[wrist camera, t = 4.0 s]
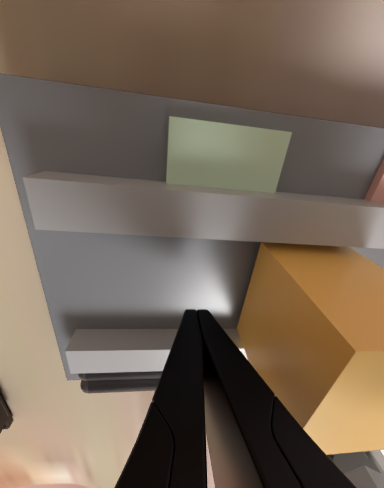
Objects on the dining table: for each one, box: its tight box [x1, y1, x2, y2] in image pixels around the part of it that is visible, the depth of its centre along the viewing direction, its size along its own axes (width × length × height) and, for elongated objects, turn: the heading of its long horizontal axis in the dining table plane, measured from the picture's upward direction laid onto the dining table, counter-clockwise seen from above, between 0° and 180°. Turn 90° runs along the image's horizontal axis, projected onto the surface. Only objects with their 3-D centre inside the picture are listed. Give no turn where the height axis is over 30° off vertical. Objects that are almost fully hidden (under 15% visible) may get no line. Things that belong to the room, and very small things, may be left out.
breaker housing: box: [0, 74, 384, 393], centre depth 11 cm, size 22×14×3 cm, turn 84°
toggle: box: [237, 242, 384, 455], centre depth 8 cm, size 4×5×5 cm
